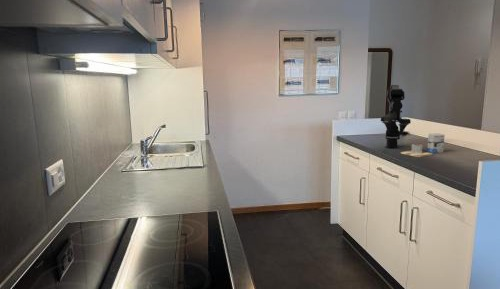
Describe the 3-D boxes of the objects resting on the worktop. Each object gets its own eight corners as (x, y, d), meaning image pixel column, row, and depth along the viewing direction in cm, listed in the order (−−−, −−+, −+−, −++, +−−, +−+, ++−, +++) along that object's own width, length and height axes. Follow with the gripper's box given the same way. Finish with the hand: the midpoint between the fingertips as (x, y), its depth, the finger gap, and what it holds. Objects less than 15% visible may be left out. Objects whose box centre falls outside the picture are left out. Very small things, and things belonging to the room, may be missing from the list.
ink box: (432, 153, 226) (433, 134, 224) (426, 151, 231) (428, 133, 228) (443, 152, 228) (445, 134, 226) (437, 150, 233) (439, 133, 231)
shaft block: (400, 153, 228) (401, 143, 227) (413, 151, 233) (414, 141, 232) (419, 157, 216) (420, 147, 214) (432, 155, 221) (433, 144, 220)
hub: (409, 152, 225) (409, 144, 225) (415, 151, 228) (416, 143, 227) (417, 154, 220) (417, 146, 219) (423, 152, 223) (424, 145, 222)
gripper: (374, 108, 228) (373, 133, 231) (399, 111, 212) (397, 137, 215) (387, 107, 233) (386, 131, 236) (411, 109, 217) (410, 135, 220)
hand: (394, 133), depth 227 cm, fingers open, 9 cm apart
